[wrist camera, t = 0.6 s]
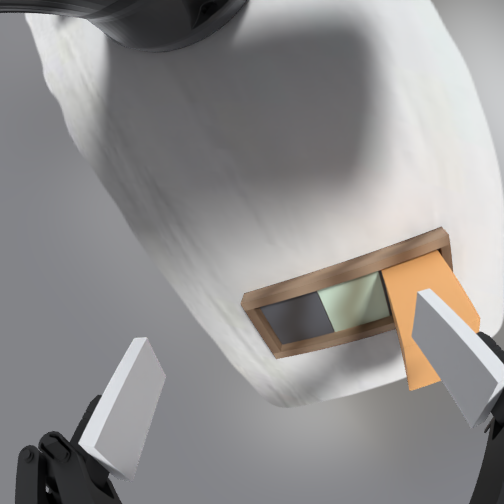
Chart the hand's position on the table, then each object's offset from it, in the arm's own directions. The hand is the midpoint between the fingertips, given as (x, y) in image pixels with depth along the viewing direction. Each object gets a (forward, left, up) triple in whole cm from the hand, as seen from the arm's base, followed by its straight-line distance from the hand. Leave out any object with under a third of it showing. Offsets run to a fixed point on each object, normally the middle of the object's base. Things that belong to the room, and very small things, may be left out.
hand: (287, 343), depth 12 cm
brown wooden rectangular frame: (+8, +7, -15) cm, 18 cm away
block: (+4, +12, -14) cm, 19 cm away
